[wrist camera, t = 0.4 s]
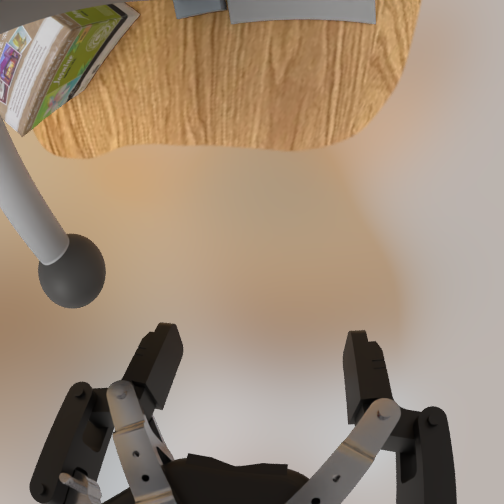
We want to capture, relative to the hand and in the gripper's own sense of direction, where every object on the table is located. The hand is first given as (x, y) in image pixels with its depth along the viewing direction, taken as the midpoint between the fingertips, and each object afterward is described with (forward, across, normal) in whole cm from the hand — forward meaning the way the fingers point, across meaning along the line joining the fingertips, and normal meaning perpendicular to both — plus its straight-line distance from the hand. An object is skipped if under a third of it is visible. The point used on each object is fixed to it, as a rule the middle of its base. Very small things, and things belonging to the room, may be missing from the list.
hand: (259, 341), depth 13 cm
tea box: (+24, +24, -24) cm, 42 cm away
